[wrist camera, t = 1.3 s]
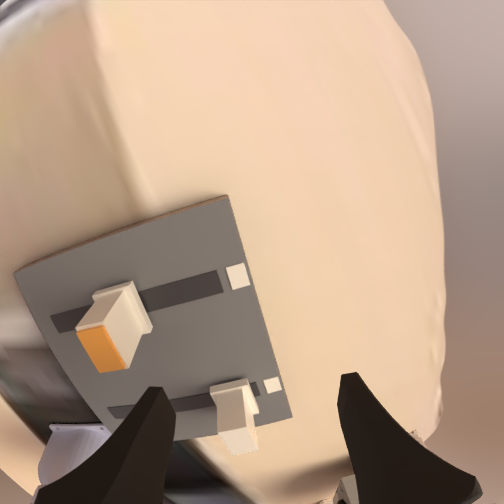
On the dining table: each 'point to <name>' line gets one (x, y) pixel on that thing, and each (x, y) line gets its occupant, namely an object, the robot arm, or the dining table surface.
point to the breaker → (236, 415)
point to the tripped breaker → (114, 327)
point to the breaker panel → (164, 316)
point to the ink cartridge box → (326, 501)
